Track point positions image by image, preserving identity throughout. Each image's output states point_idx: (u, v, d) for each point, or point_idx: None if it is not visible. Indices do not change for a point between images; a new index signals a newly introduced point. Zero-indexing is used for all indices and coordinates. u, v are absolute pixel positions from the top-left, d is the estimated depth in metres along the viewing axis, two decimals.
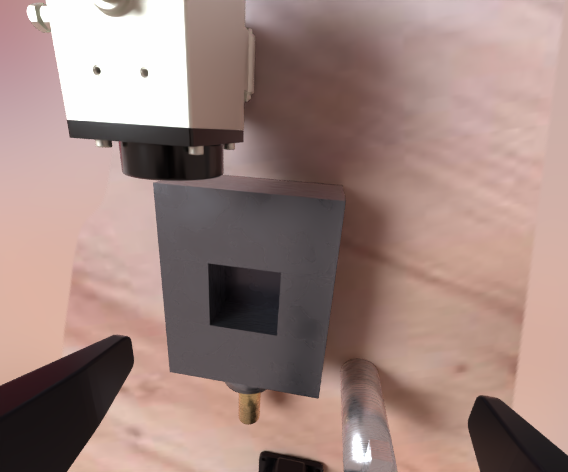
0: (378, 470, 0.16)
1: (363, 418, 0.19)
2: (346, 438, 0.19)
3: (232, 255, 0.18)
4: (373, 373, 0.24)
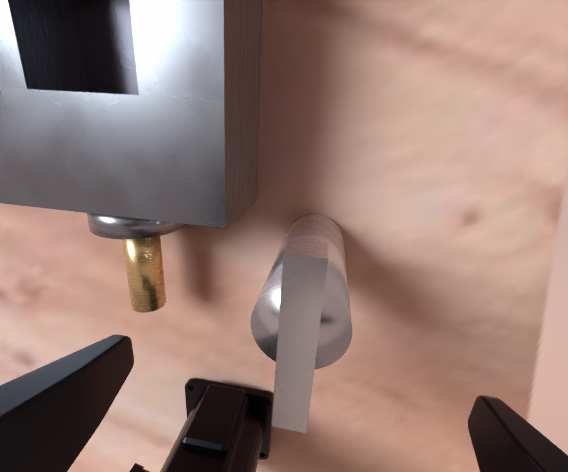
0: (299, 285, 0.07)
1: None
2: (265, 283, 0.11)
3: None
4: (332, 226, 0.15)
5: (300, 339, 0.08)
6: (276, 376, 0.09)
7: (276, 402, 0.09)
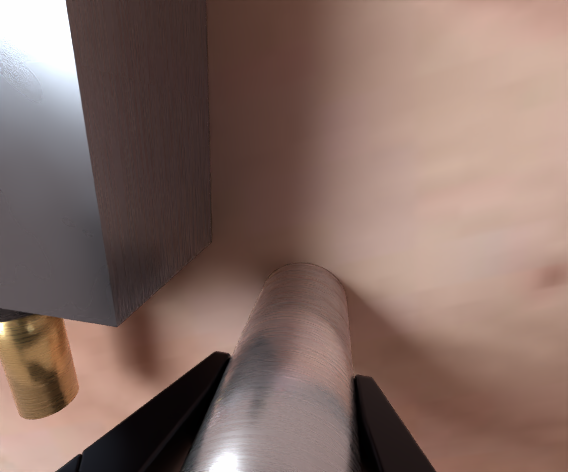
0: None
1: (256, 393, 0.05)
2: (180, 470, 0.05)
3: None
4: (329, 288, 0.09)
5: None
6: None
7: None
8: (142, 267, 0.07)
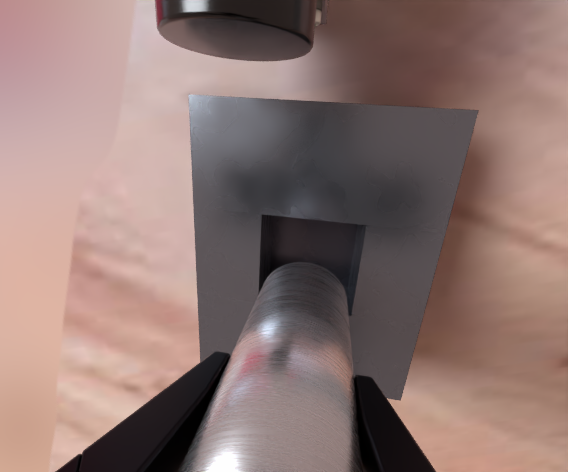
0: None
1: (256, 392, 0.05)
2: (179, 469, 0.05)
3: (297, 201, 0.13)
4: (329, 287, 0.09)
5: None
6: None
7: None
8: None
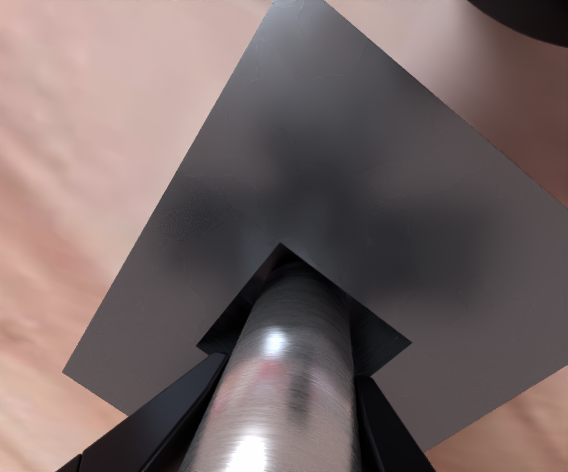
0: None
1: (257, 391, 0.05)
2: None
3: (344, 258, 0.08)
4: (330, 287, 0.09)
5: None
6: None
7: None
8: None
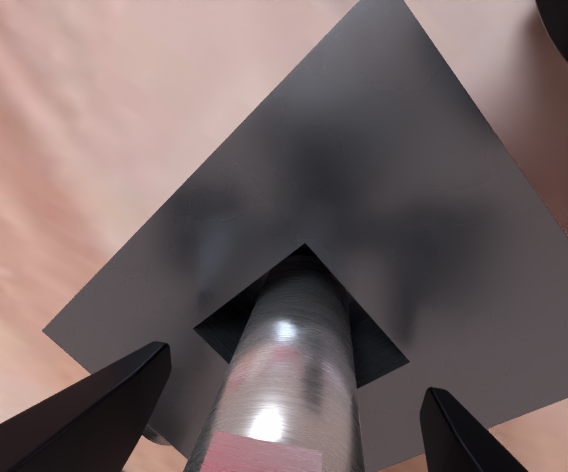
0: None
1: (266, 366, 0.06)
2: None
3: (365, 270, 0.08)
4: (330, 278, 0.10)
5: None
6: None
7: None
8: None
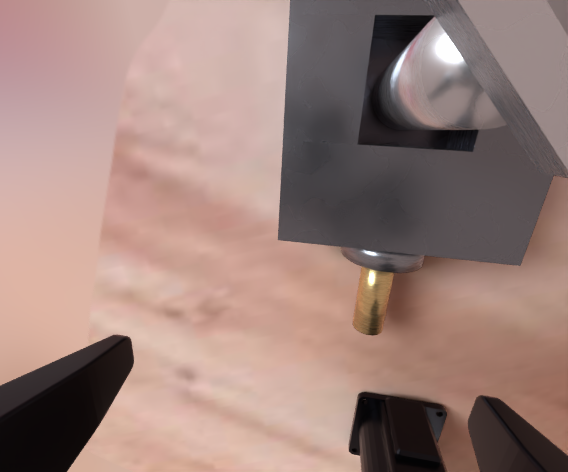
0: None
1: (410, 42, 0.09)
2: (406, 91, 0.08)
3: None
4: None
5: (515, 14, 0.05)
6: (525, 98, 0.06)
7: (552, 137, 0.06)
8: None
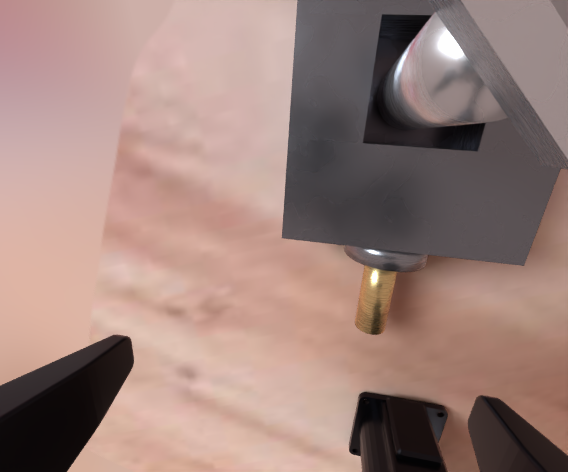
0: None
1: (413, 40, 0.09)
2: (407, 86, 0.09)
3: None
4: None
5: (514, 5, 0.06)
6: (524, 88, 0.06)
7: (553, 128, 0.06)
8: None
